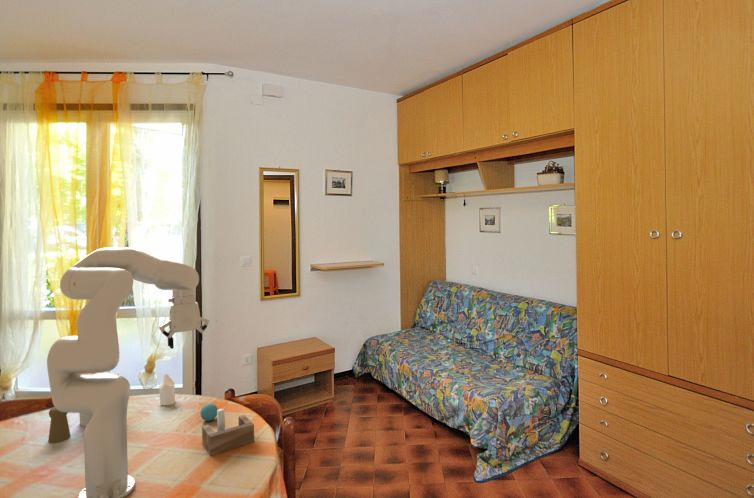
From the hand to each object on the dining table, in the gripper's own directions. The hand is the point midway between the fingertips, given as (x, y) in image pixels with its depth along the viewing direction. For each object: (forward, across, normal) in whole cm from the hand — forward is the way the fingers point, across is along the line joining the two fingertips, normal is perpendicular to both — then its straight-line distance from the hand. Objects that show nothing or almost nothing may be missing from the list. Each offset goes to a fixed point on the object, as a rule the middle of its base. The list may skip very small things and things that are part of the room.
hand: (185, 345), depth 154 cm
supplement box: (+28, -26, +16) cm, 41 cm away
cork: (+27, -38, +10) cm, 48 cm away
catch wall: (+27, +5, -30) cm, 40 cm away
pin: (+27, +5, -22) cm, 35 cm away
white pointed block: (+28, -3, +19) cm, 34 cm away
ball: (+24, +6, -8) cm, 26 cm away
